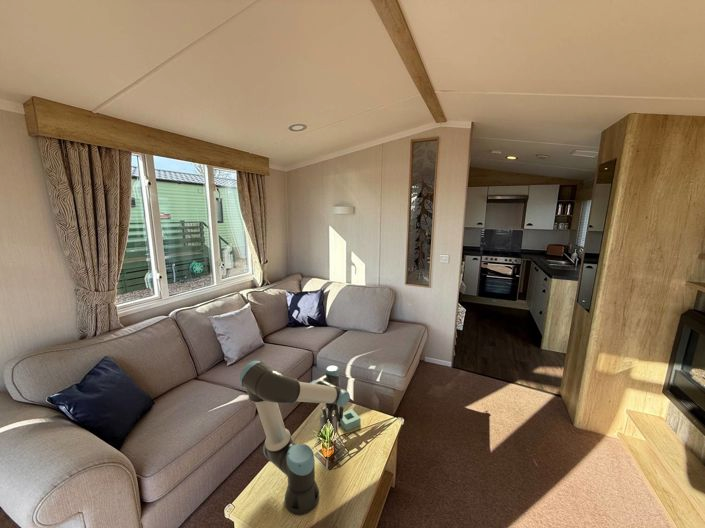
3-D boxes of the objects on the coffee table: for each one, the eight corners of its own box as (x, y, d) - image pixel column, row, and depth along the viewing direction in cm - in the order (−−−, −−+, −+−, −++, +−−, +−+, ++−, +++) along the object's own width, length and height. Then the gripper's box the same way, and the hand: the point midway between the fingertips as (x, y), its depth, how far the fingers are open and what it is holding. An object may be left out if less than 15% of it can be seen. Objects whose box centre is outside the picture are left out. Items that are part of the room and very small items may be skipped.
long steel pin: (332, 442, 167) (331, 418, 164) (329, 438, 170) (329, 414, 167) (337, 440, 169) (337, 416, 166) (334, 436, 171) (334, 412, 169)
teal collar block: (345, 431, 175) (345, 424, 175) (337, 420, 184) (337, 414, 183) (360, 424, 180) (360, 418, 180) (352, 415, 189) (352, 408, 188)
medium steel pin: (321, 432, 175) (321, 418, 173) (319, 429, 177) (318, 415, 176) (326, 430, 176) (326, 416, 175) (324, 427, 179) (323, 413, 177)
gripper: (322, 402, 157) (322, 442, 161) (349, 392, 165) (349, 430, 169) (316, 395, 163) (317, 433, 168) (342, 386, 171) (343, 422, 176)
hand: (333, 432), depth 168 cm, fingers open, 3 cm apart
